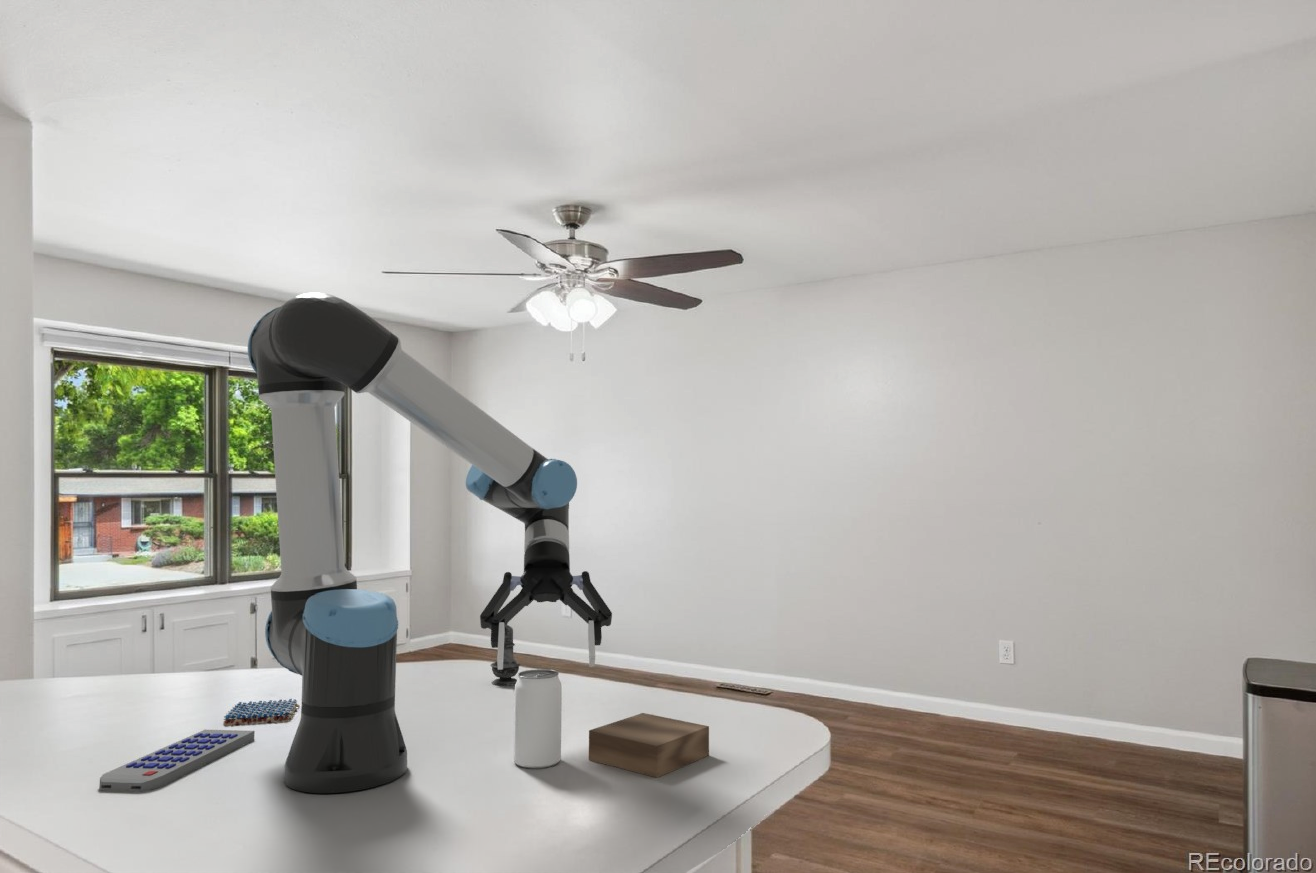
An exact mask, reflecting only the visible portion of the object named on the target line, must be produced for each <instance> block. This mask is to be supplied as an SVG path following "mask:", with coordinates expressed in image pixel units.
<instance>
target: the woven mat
mask: <svg viewBox="0 0 1316 873" xmlns="http://www.w3.org/2000/svg"><path fill="white" fill-rule="evenodd" d="M296 707H299V708H301V706H300V704H299V703H298V700H297V699H293V700H292V698H289V700H286V699H285V700H284V699H283V700H282V699H279V700H278V701H277V700H270V699H269V701H265V700H259V701H258V702H257V701H248V702H243V701H239V702H238V703H236V704H234V706H232V708H231V709H230V710H229V711H227V713H225V715H224V716H223V723H224V724H223V726H224V727H225V726H238V725H255V724H270V723H286V722H287V723H288V722H291V721H292V720H291V719H293V718H294V716H295V715H296V714H295V712H297V709H298V710H299V708H296Z"/></svg>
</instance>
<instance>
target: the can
mask: <svg viewBox="0 0 1316 873" xmlns="http://www.w3.org/2000/svg"><path fill="white" fill-rule="evenodd" d="M517 675H518V678H517V682H516V684H515V685H514V703H513V705H514V706H513V707H514V711H513V713H514V714H513V715H514V716H513V762H514V763H515V765H517V767H520V768H523V769H529V770H537V769H547V768H551V767H553V766H556V765H557V764H558V763H559V762H560V760H562V759H561V758H562V711H563V710H562V707H563V706H562V704H563V703H562V700H563V699H562V698H563V697H562V693H563V692H562V690H563V688H562V681H561V680H560V678H559V671H557V670H553V669H545V668H544V669H543V668H542V669H541V668H540V669H539V668H537V669H527V670H522V671H520V672H519V673H518V672H517Z"/></svg>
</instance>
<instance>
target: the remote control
mask: <svg viewBox="0 0 1316 873" xmlns="http://www.w3.org/2000/svg"><path fill="white" fill-rule="evenodd" d="M255 732H256V731H255V730H239V729H238V730H236V729H234V730H233V729H203V730H201V731H198V732H196V733H194V734H192V735H190V736H187V737H185V738H183V739H181V740H178V741H176V742H173V743H171V744H169V745H166V746H164V747H163V748H159V749H158V750H155V751H153V752H151V753H149V754H146V755H143V756H142V757H139V758H137V759H134V760H133V761H130V762H127V763H124V764H123V765H121V766H119V767H116V768H114V769H112V770H109V771H107V772H105V773H103V774H102V775H101V777H100V778H99V784H98V785H99V790H100V791H104V792H105V791H108V792H136V793H137V792H146V791H152V790H156V789H158V788H159V789H160V788H162V787H164V786H165V785H168V784H170V783H172V782H173V781H176V780H177V779H180V778H182V777H183V776H185V775H188V774H189V773H192V772H193V771H196V770H198V769H200V768H201V767H204V766H205V765H207V764H209V763H211V762H213V761H215V760H217V759H219V758H221V757H223V756H224V755H227V754H228V753H232V751H235V750H237V749H238V748H241V747H242V746H245V745H246V744H248V743H251V742H252V741H254V740H255Z"/></svg>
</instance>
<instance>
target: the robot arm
mask: <svg viewBox="0 0 1316 873" xmlns="http://www.w3.org/2000/svg"><path fill="white" fill-rule="evenodd" d="M401 344H402V342H401V339H400V338H399V337H398V336H397V335H395V334H393V332H391V331H390V330H388V329H387V328H386V327H385V326H384V325H382V324H381V323H379V322H378V321H376V320H375V319H374V318H372V317H371V316H370V315H368V314H367V313H366V312H364V311H363V310H361V309H360V308H358V307H356V306H355V305H353V304H351V303H350V302H348V301H346V300H344V299H342V298H340V297H337V296H334V295H332V294H328V293H324V292H307V293H302V294H298V295H296V296H294V297H292V298H291V299H289V300H287V301H286V302H284V303H283V304H282V305H281V306H278V307H276V308H274V309H272V310H270V311H268V312H266V313H265V314H264V315H263V316H261V318H260V319H259V320H258V321H257V322H256V323H255V326H253V328H252V330H251V333H250V334H249V336H248V342H247V356H248V360H249V363H250V365H251V367H252V370H253V371H254V373H255V374H256V375H257V388H258V399H260V400H261V401H262V402H263V403H265V405H267V406H268V407H269V409H270V411H271V412H270V413H271V414H270V415H271V426H272V430H271V431H272V444H273V460H274V461H273V462H274V476H275V489H276V490H275V493H276V508H277V523H278V542H279V555H280V556H279V557H280V559H279V560H280V572H281V573H280V576H279V577H278V578H277V579H276V580H275V581H274V583H273V584H272V585H271V586H270V596H271V597H270V598H271V599H270V600H271V610H270V612H269V615H268V617H267V619H266V621H265V622H266V623H265V628H264V629H265V630H264V635H265V636H264V637H265V643H266V646H267V648H268V650H269V652H270V653H271V655H272V656H273V658H274V659H275V660H276V661H277V663H278V664H279V665H280V666H281V667H282V668H285V670H286V669H287V671H289V672H290V673H293V674H296V675H299V676H301V677H302V679H301V681H302V682H301V706H300V708H301V710H300V720H299V722H298V726H297V729H296V732H295V734H294V736H293V740H292V743H291V746H290V748H289V752H288V754H287V757H286V760H285V763H284V772H283V774H284V776H283V777H284V778H283V782H284V784H285V786H287V787H288V788H290V789H291V790H295V791H297V792H303V793H310V794H311V793H312V794H334V793H335V794H337V793H349V792H355V791H361V790H366V789H371V788H374V787H378V786H381V785H385V784H387V783H390V782H392V781H395V780H397V779H399V778H400V777H402V776H403V775H404V774H405V773H406V772H407V770H408V750H407V746H406V744H405V741H404V736H403V733H402V730H401V727H400V724H399V720H398V717H397V714H396V682H397V681H396V679H397V678H396V675H397V674H396V673H397V671H396V670H397V646H398V645H397V644H398V643H397V642H398V629H399V620H398V616H397V615H398V613H397V612H398V611H397V605H396V603H395V601H394V599H393V598H392V597H390V595H387V594H386V593H383V592H379V591H375V590H366V589H358V584H357V583H358V582H357V577H356V576H355V575H354V574H353V573H352V572H350V571H349V570H348V569H347V567H346V566H345V564H346V563H345V550H344V549H345V548H344V534H343V519H342V516H343V515H342V502H341V486H340V471H339V470H340V469H339V458H338V457H339V456H338V455H339V454H338V438H337V425H336V423H337V422H336V412H335V411H336V410H335V409H336V408H335V407H336V405H337V404H338V402H339V401H341V399H343V397H344V396H345V394H346V393H345V387H347V388H348V389H350V390H351V391H352V392H355V393H356V394H362V393H363V394H365V393H369V394H370V395H371V396H373V397H374V398H375V399H377V400H379V401H380V402H381V403H383V404H385V406H387V407H389V408H391V409H392V410H393V411H395V412H396V413H397V414H399V416H402V417H403V418H404V419H406V420H408V421H409V422H411V423H412V424H413V425H415V426H416V427H417V428H419V429H420V430H422V431H423V432H424V433H426V434H428V435H429V436H430V437H431V438H433V439H435V440H436V441H437V442H438V443H440V444H441V445H444V446H445V447H446V448H447V449H448V450H450V451H452V452H453V453H454V454H456V455H457V456H459V457H461V459H463V460H465V461H466V462H468V463H469V464H471V466H470V468H469V470H468V471H467V474H466V477H465V487H466V489H467V491H468V492H469V493H471V494H472V495H473V496H475V497H476V498H478V499H479V500H480V501H484V502H485V503H487V504H489V505H491V506H493V507H495V508H496V509H498V510H501V511H502V512H504V513H506V514H507V515H509V516H511V517H513V518H514V519H516V520H517V521H520V522H521V523H523V524H524V547H523V550H524V553H523V574H522V575H521V576H517V575H512V574H513V573H512V572H509V571H507V572H504V574H503V580H502V583H501V584H500V586H499V587H498V589H497V590H496V592H494V594H493V596H492V597H491V599H490V600H489V602H488V603H487V605H486V606H485V607H484V609H483V610H482V612H481V614H480V616H479V620H480V627H481V629H483V630H486V629H489V630H490V645H491V646H490V647H491V648H492V649H495V648H496V649H497V657H496V658H497V659H496V661H497V665H498V670H502V669H503V656H504V635H505V630H504V626H505V625H506V624H507V625H508V624H509V622H511V620H512V619H514V618H515V617H516V616H517V615H518V613H520V612H521V611H522V610H523V609H524V608H525V607H529V605H531V603H532V602H534V601H535V602H537V603H545V602H550V603H557V602H558V601H561V603H562V604H564V605H565V606H568V607H569V608H570V609H571V610H572V611H573V612H575V614H576V615H578V616H579V617H580V618H581V619H583V621H584V622H585V623H586V624H587V625H588V627H587V638H588V639H587V641H588V659H589V660H588V661H589V662H588V663H589V664H588V665H589V666H588V667H589V668H595V667H596V646H601V644H602V638H603V637H602V627H610V626H611V624H612V618H613V612H612V611H611V609H610V607H609V606H608V604H606V602H605V601H604V599H603V598H602V596H601V595H600V593H599V592H598V590H597V589H596V587H595V586H594V585H593V583H592V582H591V577H590V572H589V571H587V570H584V571H582V572H581V575H572V573H571V571H570V570H571V566H570V564H571V562H570V531H569V528H570V527H569V524H570V522H569V521H570V519H569V516H570V515H569V514H570V513H569V512H570V502H571V501H572V500H573V498H574V497H575V495H576V493H577V488H578V477H577V474H576V472H575V470H574V469H573V467H572V466H571V465H570V464H569V463H568V462H566V461H564V460H561V459H556V458H547V457H545V455H543V454H542V453H540V452H539V451H537V450H536V449H535V448H533V447H532V446H531V445H529V444H528V443H526V442H525V441H524V440H522V439H521V438H519V436H518V435H515V434H514V433H513V432H512V431H511V430H509V429H508V428H506V427H505V426H504V425H502V424H501V423H500V422H498V421H497V420H496V419H495V418H493V417H492V416H490V415H489V414H488V413H487V412H485V411H484V410H482V409H481V408H480V407H479V406H477V405H476V404H475V403H473V401H470V400H469V399H468V398H466V397H465V396H464V395H462V394H461V393H460V392H459V391H457V390H456V389H455V388H454V387H452V386H451V385H449V384H448V383H446V381H444V380H443V379H441V378H440V377H439V376H437V375H436V374H435V373H434V372H432V371H431V370H429V369H428V368H427V367H426V366H424V365H422V364H421V363H420V362H419V361H418V360H416V359H415V358H414V357H413V356H412V355H410V354H408V353H407V352H405V351H404V350H403V349H402V345H401ZM573 585H575V586H576V587H577V588H578V589H579V590H580V591H582V594H583V595H584V597H585V599H586V600H587V601H588V602H589V603H586V601H585V600H583V598H581V597H580V596H579V595H578V594H577V593H576V592H575V591H574V589H573V587H572V586H573ZM517 586H520V587H521V589H520V591H519V593H518V594H516V596H514V597H513V598H512V599H511V600H510V601H509V602H508V603H506V605H505V606H504V607H503V605H504V604H505V602H506V601H507V599H508V598H509V596H510V594H511V592H513V591H514V590H516V588H517ZM502 607H503V608H502ZM501 608H502V609H501Z"/></svg>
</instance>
